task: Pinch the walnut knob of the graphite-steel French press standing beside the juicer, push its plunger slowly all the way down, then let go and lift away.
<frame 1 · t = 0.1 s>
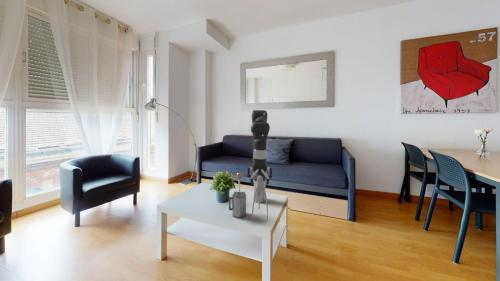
hand: (259, 184, 119), 29 cm above the table, fingers open, 8 cm apart
juicer: (259, 217, 139), on the table
plunger: (239, 185, 140), point 21 cm above the table, slide at 0.0 cm
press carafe: (239, 214, 143), on the table
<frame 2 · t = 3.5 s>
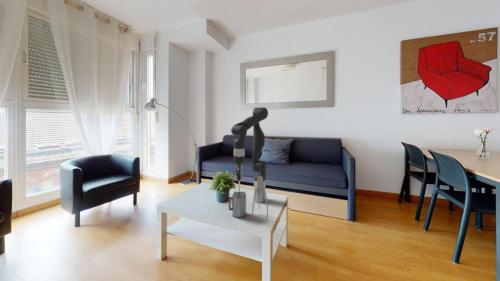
hand: (239, 179, 139), 26 cm above the table, fingers closed on plunger, 3 cm apart
plunger: (239, 185, 140), point 21 cm above the table, slide at 0.0 cm, touching gripper
everything else where it was.
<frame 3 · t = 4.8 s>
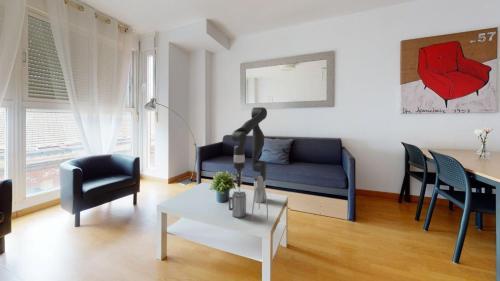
hand: (239, 185, 140), 21 cm above the table, fingers closed on plunger, 3 cm apart
plunger: (239, 191, 141), point 17 cm above the table, slide at 4.3 cm, touching gripper
everything else where it was.
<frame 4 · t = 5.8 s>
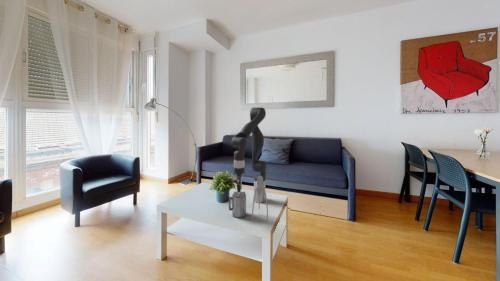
hand: (239, 190, 140), 18 cm above the table, fingers closed on plunger, 3 cm apart
plunger: (239, 197, 141), point 13 cm above the table, slide at 8.0 cm, touching gripper
everything else where it was.
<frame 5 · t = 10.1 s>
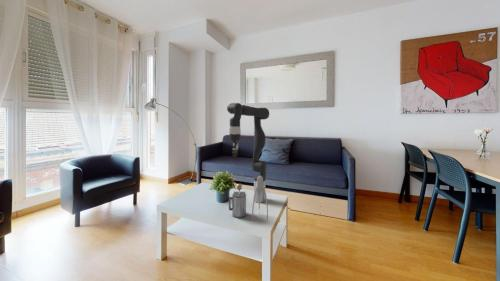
hand: (235, 156, 140), 41 cm above the table, fingers open, 8 cm apart
plunger: (239, 197, 141), point 13 cm above the table, slide at 8.0 cm
everything else where it was.
at the end: plunger slide at 8.0 cm; the gripper is holding nothing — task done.
